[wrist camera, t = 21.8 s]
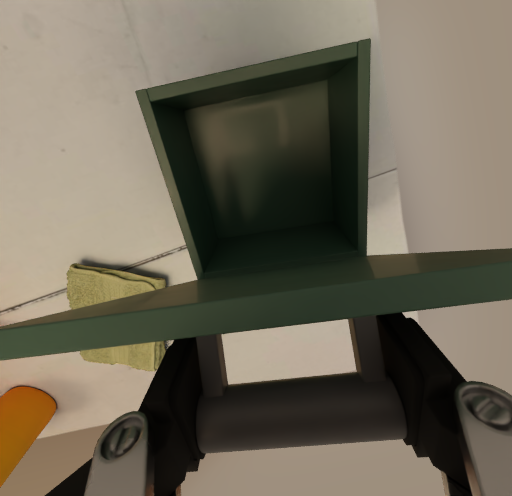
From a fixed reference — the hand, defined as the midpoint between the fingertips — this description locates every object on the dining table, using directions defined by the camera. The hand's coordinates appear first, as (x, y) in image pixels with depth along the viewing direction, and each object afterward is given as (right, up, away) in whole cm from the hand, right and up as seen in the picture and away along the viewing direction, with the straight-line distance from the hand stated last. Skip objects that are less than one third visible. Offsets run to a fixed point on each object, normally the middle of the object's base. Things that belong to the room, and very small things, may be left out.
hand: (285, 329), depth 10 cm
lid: (0, +2, +4) cm, 4 cm away
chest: (0, +12, +17) cm, 21 cm away
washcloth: (-21, -7, +27) cm, 35 cm away
